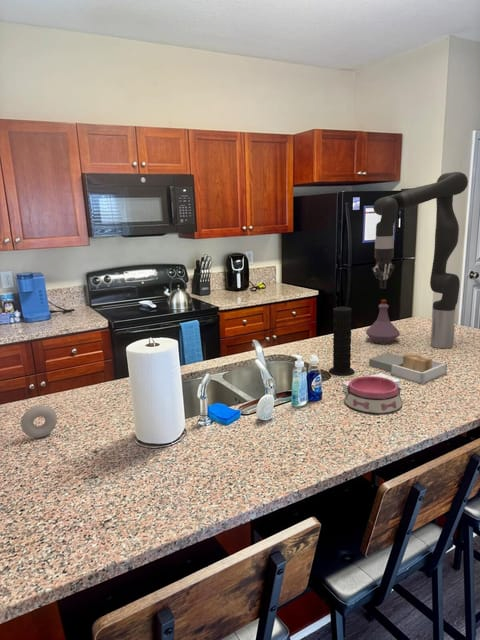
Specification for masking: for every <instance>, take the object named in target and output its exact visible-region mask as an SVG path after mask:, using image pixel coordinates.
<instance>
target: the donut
mask: <svg viewBox="0 0 480 640" xmlns="http://www.w3.org/2000/svg"><path fill="white" fill-rule="evenodd" d="M37 418H43V419H44V420H45V421H44V423H43V424H42V425H39V426H38V425H35V424H34V421H35V420H36V419H37ZM57 423H58V416H57V412H55V410H54V409H53V408H52V407H50V406H49V405H44V404H43V405H42V404H40V405H35V406H33V407H30V408H29V409H28V410H26V411H25V413H23V415H22V417H21V420H20V428H21V431H22V432H23V433H24V434H25V435H26V436H28V437H30V438H35V439H37V438H43V437H46V436H48V435H49V434H51V433H52V432H53V430H54V429H55V428H56V425H57Z"/></svg>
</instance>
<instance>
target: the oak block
mask: <svg viewBox="0 0 480 640" xmlns="http://www.w3.org/2000/svg"><path fill="white" fill-rule="evenodd" d="M402 357H403V367H404V368H408V369H411V370H415V371H418V372H424V371H427V370H429V369H432V360H433V358H431V357H426V356H423V355H419V354H414V353H408V354H405V355H403V356H402Z"/></svg>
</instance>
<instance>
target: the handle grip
mask: <svg viewBox="0 0 480 640" xmlns="http://www.w3.org/2000/svg"><path fill="white" fill-rule="evenodd" d="M332 317H333V319H332V320H333V322H332V324H333V325H332V326H333V327H332V329H333V331H332V333H333V335H332V337H333V338H332V341H333V343H332V349H333V350H332V352H333V353H332V357H333V358H332V360H333V361H332V367H330V368H329V370H328V373H329V375H330V374H331V375H333V376H335V377H348V376H352V375H354V374H355V373H356V372H355V370H354V368H352V367H351V366H352V364H351V361H352V358H351V357H352V354H351V353H352V351H351V350H352V346H351V345H352V307H347V306H338V307H334V308H333V316H332Z"/></svg>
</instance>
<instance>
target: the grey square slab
mask: <svg viewBox="0 0 480 640" xmlns="http://www.w3.org/2000/svg"><path fill="white" fill-rule="evenodd" d="M368 362H369V363H368V367H371V368H374V369H378V370H381V371H385V372H387V373H391V371H392V365H393V364H394V365H397V366H401V367H403V356H402V355H398V354H394V353H390V352H384V353H383V354H379V355H377V356H374V357H371V358H369V359H368Z"/></svg>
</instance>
